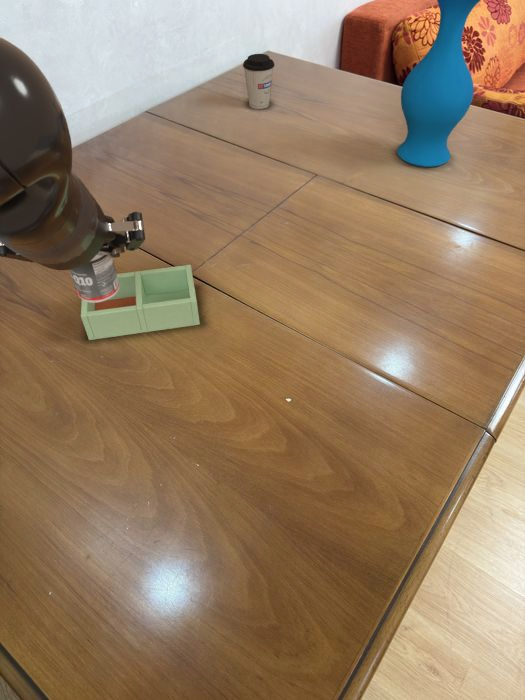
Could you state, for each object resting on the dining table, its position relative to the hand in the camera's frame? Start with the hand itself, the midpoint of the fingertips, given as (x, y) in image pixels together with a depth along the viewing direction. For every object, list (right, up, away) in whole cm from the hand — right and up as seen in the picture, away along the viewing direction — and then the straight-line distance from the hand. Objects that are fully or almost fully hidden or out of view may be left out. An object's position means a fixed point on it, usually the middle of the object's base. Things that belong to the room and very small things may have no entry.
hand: (90, 250), depth 59 cm
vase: (+51, +27, +46) cm, 74 cm away
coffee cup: (+18, +45, +64) cm, 81 cm away
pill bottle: (0, -4, +2) cm, 5 cm away
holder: (+2, -6, +16) cm, 18 cm away
